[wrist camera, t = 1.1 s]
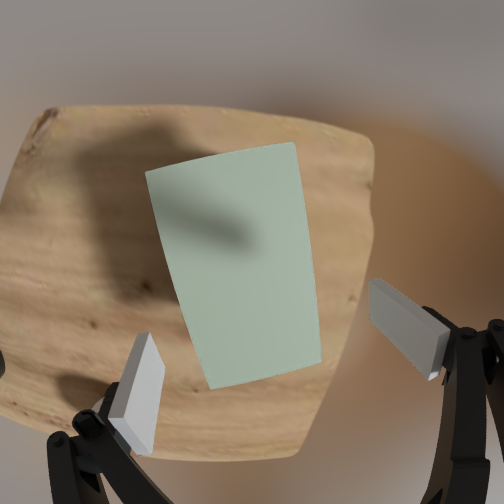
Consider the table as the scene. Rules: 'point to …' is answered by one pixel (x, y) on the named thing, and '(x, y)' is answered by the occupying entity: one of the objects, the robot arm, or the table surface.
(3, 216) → the table surface
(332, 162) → the table surface
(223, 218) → the lid
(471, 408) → the robot arm
